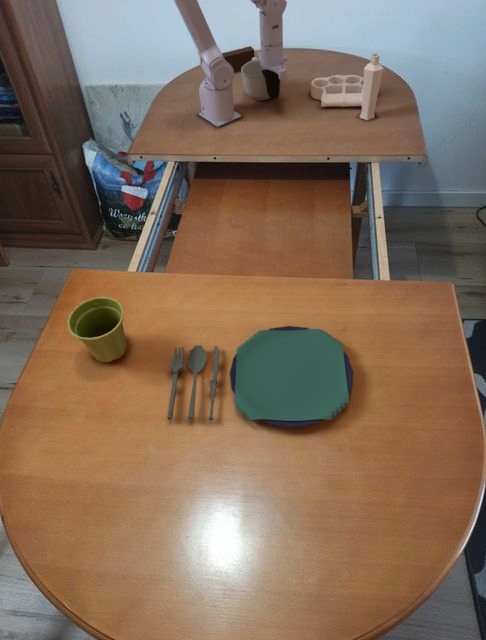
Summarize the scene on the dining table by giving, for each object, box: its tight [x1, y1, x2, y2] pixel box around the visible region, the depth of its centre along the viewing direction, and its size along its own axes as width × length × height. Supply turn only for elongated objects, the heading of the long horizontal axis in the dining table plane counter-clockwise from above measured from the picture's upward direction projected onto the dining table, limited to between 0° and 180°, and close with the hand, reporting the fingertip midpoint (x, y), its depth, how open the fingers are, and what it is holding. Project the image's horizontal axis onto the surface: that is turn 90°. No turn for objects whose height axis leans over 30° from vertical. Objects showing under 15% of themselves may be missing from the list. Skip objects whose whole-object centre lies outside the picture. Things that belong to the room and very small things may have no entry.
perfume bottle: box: [359, 52, 385, 121], centre depth 125 cm, size 5×4×15 cm
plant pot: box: [67, 296, 128, 363], centre depth 85 cm, size 9×9×9 cm
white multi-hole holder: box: [310, 74, 364, 108], centre depth 137 cm, size 3×18×15 cm
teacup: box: [240, 56, 271, 101], centre depth 140 cm, size 14×11×8 cm
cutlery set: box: [166, 325, 354, 429], centre depth 81 cm, size 20×30×2 cm, turn 87°
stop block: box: [221, 45, 256, 73], centre depth 152 cm, size 3×10×5 cm, turn 111°
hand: (273, 96), depth 137 cm, fingers closed, pressing on teacup
